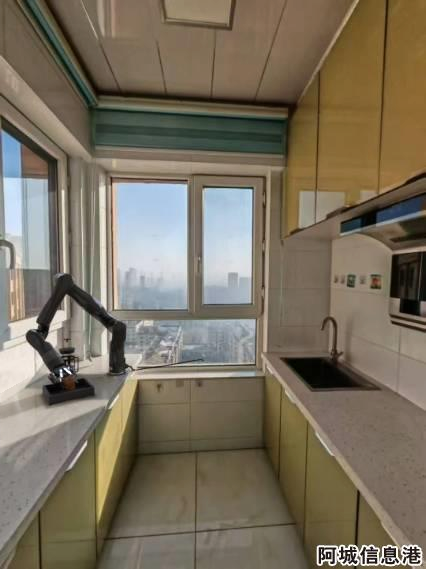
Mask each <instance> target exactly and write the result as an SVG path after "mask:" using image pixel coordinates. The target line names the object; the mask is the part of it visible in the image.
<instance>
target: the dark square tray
mask: <svg viewBox="0 0 426 569" xmlns="http://www.w3.org/2000/svg"><path fill="white" fill-rule="evenodd" d="M75 379H76V380H77V382H78V384H77V385H76V386H75V391H70V392H66V393H62V389H61V387H60V386H59V385H54V384H53V383H47V384H43V385H42V388H41V389H42V392H41V393H42V395H43V396H42V397H43V398H44V400H45V401H46V403H47V405H48V406H53V405H58V404H61V403H66V402H71V401H75V400H79V399H83V398H88V397H92V396H95V386H94V385H93V384H92V383H91V382H90V381H89V380H88V379H87V378H86V377H80V378H75Z"/></svg>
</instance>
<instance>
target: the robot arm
mask: <svg viewBox="0 0 426 569" xmlns="http://www.w3.org/2000/svg"><path fill="white" fill-rule="evenodd" d="M52 283H53V286H54V288H53V291H52V293H51V295H50V297H49V298H48V300H47V301H46V302H45V304H44V305H43V306H42V308H41V310H40V311H39V313H38V316H37V317H36V320H35V323H36V324H37V328H30V329H29V330H27V331H26V333H25V340H26V342H27V344H28V345H29V346H31V348H33V349H34V350H35V351H36V352H37V354H38V355H39V356H40V358H41V360H42V363H44V365H45V366H46V368H47V369H48V371H49V374H48V375H47V378H48V380H49V382H51V384H54V385H59V386H60V387H61V389H62V390H63V391H65V390H66V389H67V386H66V385H65V383H64V382H63V380H62V378H63V376H64V375H67V374H73V375H75V377H76V376H77V375H78V374H77V372H75V371H76V369H75V370H74V368H73V366H70V367H66V366H65V362H64V361H63V359H64V358H61V356H62V355H61V354H60V353H59V351H57V350H56V349H55V347H54V346H53V344H52V343H51V342H49V341H47V339H48V336H49V332H50V328H51V324H52V322H53V321H54V318H55V316H56V314H57V312H58V310H59V308H60V306H61V304H62V303H63V300H64V299H65V298H66V296H68V297H69V298H70V299H71V300H73V302H75V303H76V304H77V305H78V306H79V307H80V308H81V310H83V311H85V313H87V314H88V315H89V316H91V317H92V318H93V319H95V320H96V321H98V322H99V323H100V324H101V325H102V326H104V328H105V329H106V330H107V331H108V333H110V334H111V340H110V341H109V343H108V375H110V376H119V375H123V374H126V370H127V369H129V368H130V369H131V371H134V372H137V371H143V370H149V369H157V368H165V367H171V366H176V365H181V364H182V365H183V364H186V363H192V362H198V361H202V362H205V360H204V359H203V358H197V359H191V360H186V361H180V362H175V363H174V362H173V363H170V364H169V363H168V364H162V365H155V366H147V367H141V368H138V369H137V368H136V369H135V368H133V366H132V365H130V364H128V363H127V361H126V357H125V351H126V350H125V348H126V341H127V333H128V332H127V330H128V329H127V328H128V327H127V324H126V322H125V321H123V320H120V319H117V318H116V317H114V316H112V315H111V314H110V313H109V312H108V311H107V309H106V308H105V306H104V304H103V303H101V302H100V301H99V300H98V299H97V298H96V297H95V296H94V295H92V294H91V293H89V292H87V291H86V290H84V289H82V288H81V287H80V286H79V285H77V284H76V282H75V278H74V277H73V275H71V274H70V273H68V272H58V273H56V274H55V275H53V277H52ZM76 379H77V378H75V386H76V385H77V384H78V382H77V380H76Z"/></svg>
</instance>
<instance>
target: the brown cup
mask: <svg viewBox="0 0 426 569" xmlns="http://www.w3.org/2000/svg"><path fill="white" fill-rule="evenodd" d="M75 379H76V376H75V375H73V374H68V375H64V376H63V378H62V380H63V382H64V383H65V385H66V386H67V389H66V390H65V391H63V390H62V393H66V392H70V391H75Z"/></svg>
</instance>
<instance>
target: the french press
mask: <svg viewBox="0 0 426 569" xmlns="http://www.w3.org/2000/svg"><path fill="white" fill-rule="evenodd" d="M62 340H63V341H65V342H66V343H69V341H71V340H72V338H70V337H67V338H63V339H62ZM75 350H76V347H73V346H71V347H69V346H65V347H61V348H59V349H58V353H59V355H60V356H61V358H62V359H63V361H64V362H65V366H66V367H70V366H73V368H74V370H75V372H76V373H78V372H79V371H80V370H79V368H80V366H79V365H80V357H79V356H76V355H74V353H75ZM76 359H77V361H76ZM72 361H73V364H71V362H72ZM76 362H77V364H76ZM76 365H77V366H76ZM76 368H77V369H76ZM67 375H68V374H67Z"/></svg>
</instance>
